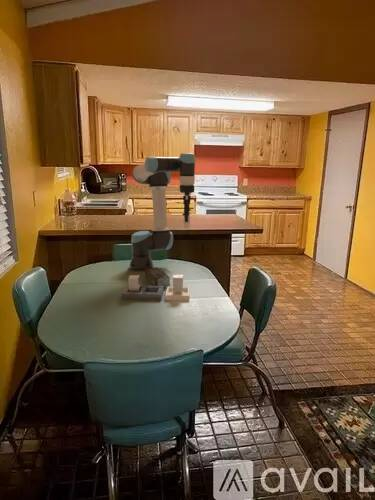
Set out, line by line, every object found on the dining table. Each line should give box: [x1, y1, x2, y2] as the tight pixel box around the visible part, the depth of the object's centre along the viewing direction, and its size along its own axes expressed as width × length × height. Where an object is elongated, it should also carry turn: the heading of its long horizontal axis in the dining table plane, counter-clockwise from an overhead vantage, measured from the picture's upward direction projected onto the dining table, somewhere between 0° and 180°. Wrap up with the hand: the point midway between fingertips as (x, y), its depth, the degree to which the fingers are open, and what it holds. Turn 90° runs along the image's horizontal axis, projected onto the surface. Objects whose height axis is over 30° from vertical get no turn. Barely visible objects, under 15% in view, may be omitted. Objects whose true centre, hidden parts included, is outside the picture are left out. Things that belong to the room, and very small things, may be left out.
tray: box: [164, 286, 191, 301], centre depth 176 cm, size 12×12×3 cm
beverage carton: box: [145, 267, 171, 288], centre depth 194 cm, size 8×19×7 cm, turn 27°
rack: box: [121, 284, 165, 301], centre depth 176 cm, size 12×20×3 cm, turn 89°
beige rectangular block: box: [128, 274, 141, 292], centre depth 175 cm, size 5×5×10 cm
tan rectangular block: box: [172, 274, 184, 295], centre depth 175 cm, size 5×5×10 cm
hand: (186, 225), depth 179 cm, fingers open, 13 cm apart
